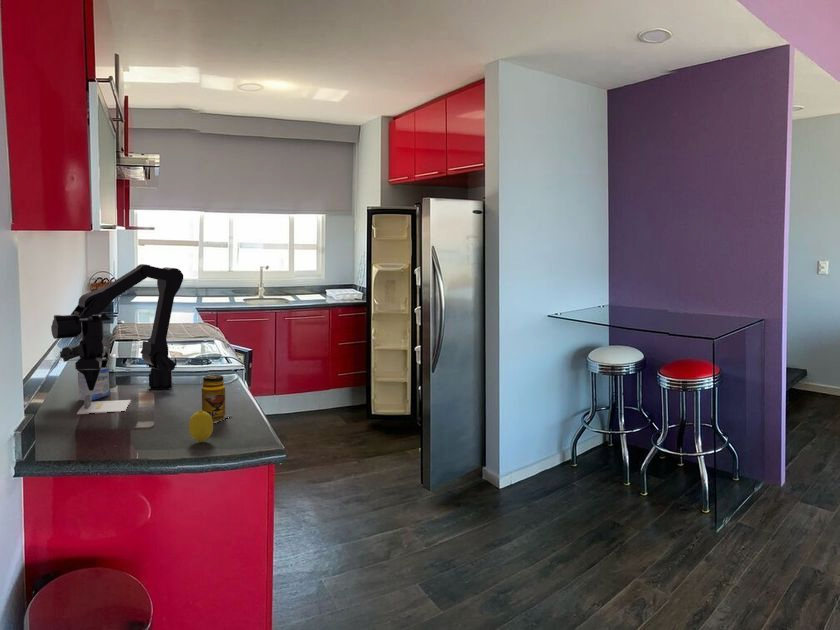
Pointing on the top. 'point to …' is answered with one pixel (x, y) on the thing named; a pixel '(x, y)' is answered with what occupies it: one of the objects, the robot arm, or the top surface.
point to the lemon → (201, 425)
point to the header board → (103, 406)
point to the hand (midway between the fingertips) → (94, 386)
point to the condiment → (214, 396)
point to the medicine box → (99, 389)
